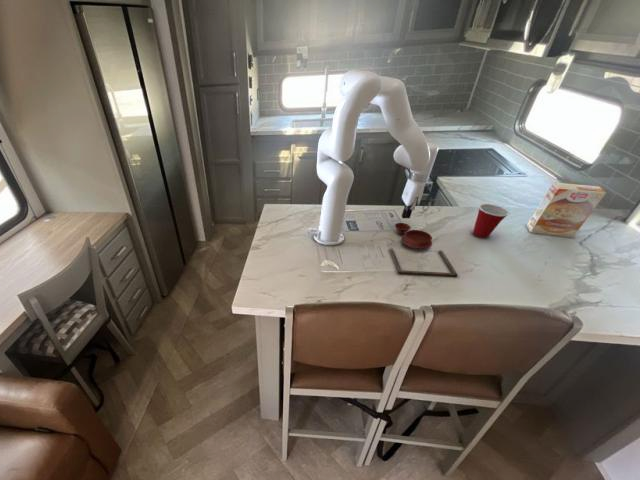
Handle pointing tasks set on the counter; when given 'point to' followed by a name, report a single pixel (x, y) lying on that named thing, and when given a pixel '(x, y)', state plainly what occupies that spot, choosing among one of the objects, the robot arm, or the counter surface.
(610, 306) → the counter surface
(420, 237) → the pottery
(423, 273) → the frame
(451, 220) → the counter surface
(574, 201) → the coffeecake box
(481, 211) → the plastic cup
